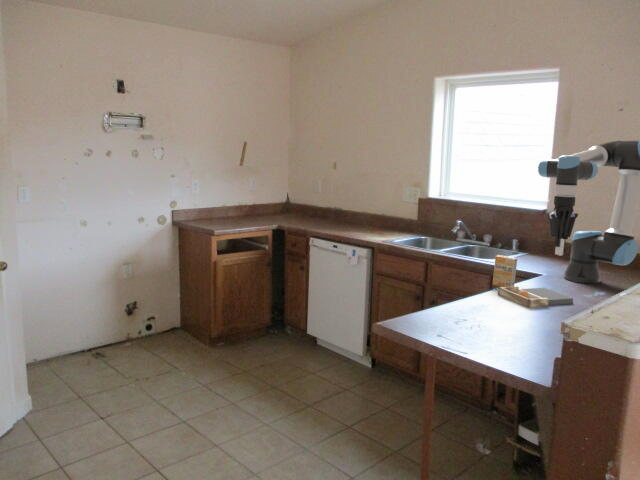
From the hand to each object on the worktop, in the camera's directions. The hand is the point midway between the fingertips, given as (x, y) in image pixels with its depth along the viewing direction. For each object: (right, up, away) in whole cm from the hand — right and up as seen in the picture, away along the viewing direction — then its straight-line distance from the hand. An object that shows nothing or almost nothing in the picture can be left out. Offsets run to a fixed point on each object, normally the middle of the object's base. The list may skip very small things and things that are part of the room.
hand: (558, 254), depth 210 cm
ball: (-15, -18, -2) cm, 24 cm away
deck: (-5, -18, +2) cm, 18 cm away
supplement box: (-16, -14, +19) cm, 28 cm away
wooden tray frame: (-15, -18, -2) cm, 24 cm away
